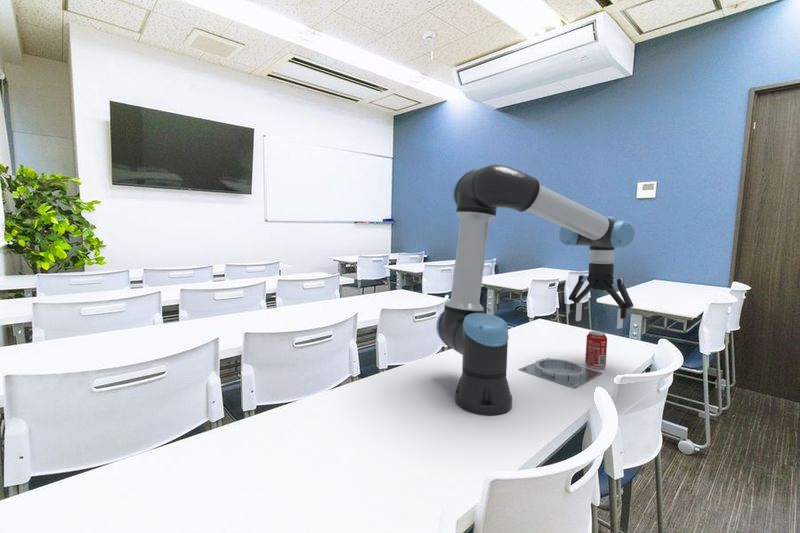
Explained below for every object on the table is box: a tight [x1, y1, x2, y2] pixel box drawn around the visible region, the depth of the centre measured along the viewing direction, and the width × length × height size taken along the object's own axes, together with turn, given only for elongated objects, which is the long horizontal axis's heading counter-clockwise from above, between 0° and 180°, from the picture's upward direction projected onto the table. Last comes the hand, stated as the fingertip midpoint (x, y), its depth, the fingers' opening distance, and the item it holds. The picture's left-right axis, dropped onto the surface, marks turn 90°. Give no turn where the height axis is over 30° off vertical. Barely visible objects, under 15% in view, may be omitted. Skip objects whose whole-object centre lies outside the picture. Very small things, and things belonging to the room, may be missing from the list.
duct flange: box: [517, 357, 603, 389], centre depth 128 cm, size 19×19×2 cm
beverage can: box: [584, 330, 608, 370], centre depth 133 cm, size 6×6×12 cm
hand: (598, 324), depth 133 cm, fingers open, 13 cm apart
